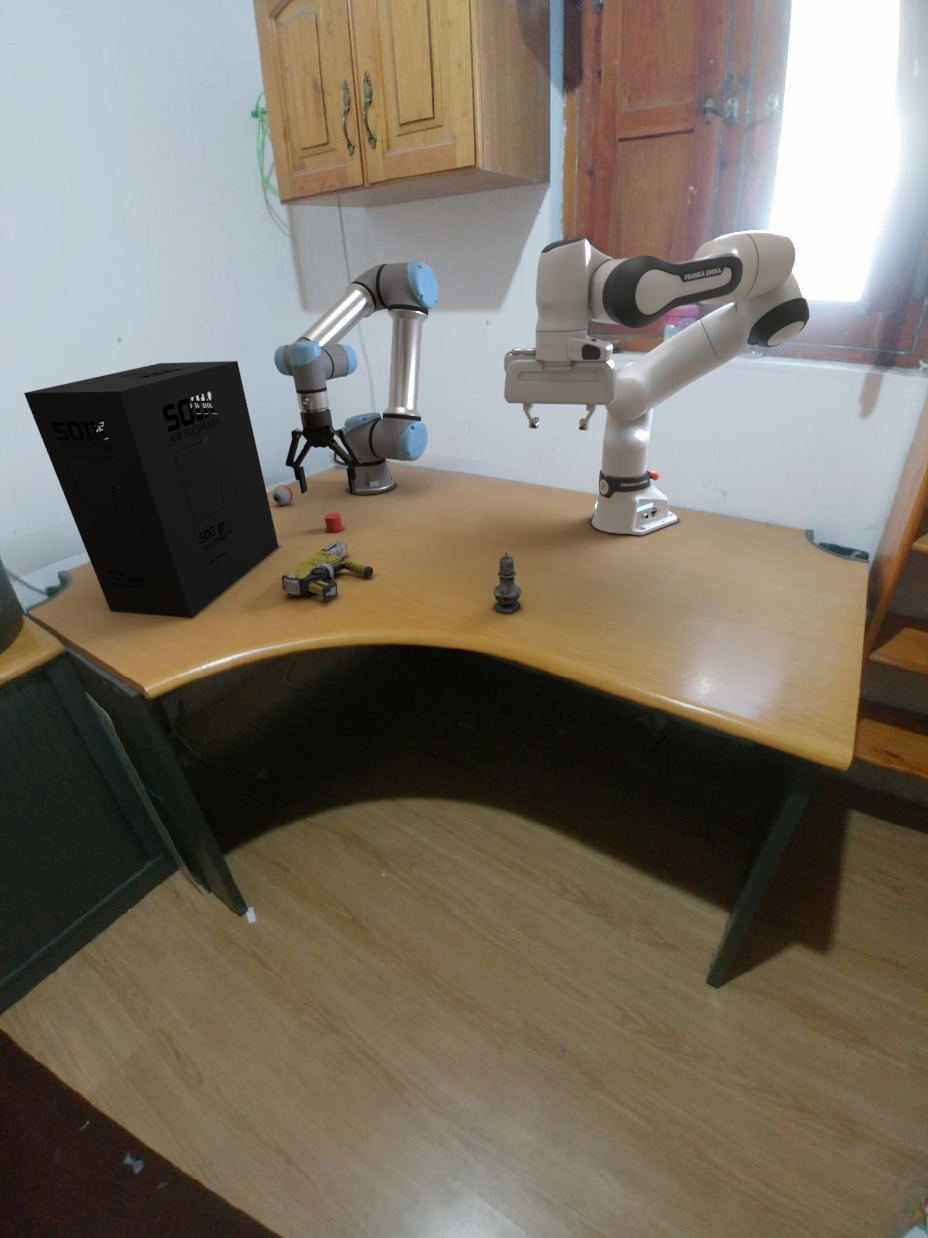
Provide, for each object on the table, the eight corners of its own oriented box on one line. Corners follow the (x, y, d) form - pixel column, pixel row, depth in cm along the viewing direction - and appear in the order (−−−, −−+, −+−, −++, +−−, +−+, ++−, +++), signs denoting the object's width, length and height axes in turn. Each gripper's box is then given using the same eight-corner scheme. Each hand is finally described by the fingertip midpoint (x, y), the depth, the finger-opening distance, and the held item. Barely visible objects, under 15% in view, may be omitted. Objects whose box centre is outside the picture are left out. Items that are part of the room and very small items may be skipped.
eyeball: (269, 507, 186) (265, 488, 183) (282, 500, 191) (278, 481, 188) (285, 508, 183) (282, 489, 180) (298, 502, 188) (294, 483, 185)
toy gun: (389, 548, 145) (334, 537, 149) (339, 588, 125) (277, 575, 129) (389, 566, 147) (335, 555, 151) (340, 608, 127) (279, 595, 131)
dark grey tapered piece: (519, 614, 120) (519, 559, 114) (490, 612, 122) (489, 558, 116) (523, 600, 125) (523, 546, 119) (495, 598, 127) (493, 545, 121)
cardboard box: (191, 617, 126) (119, 391, 104) (110, 610, 131) (23, 392, 108) (278, 546, 158) (237, 360, 135) (210, 542, 162) (159, 363, 140)
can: (324, 529, 167) (321, 515, 165) (337, 525, 169) (335, 511, 167) (331, 534, 164) (329, 519, 162) (345, 529, 166) (343, 515, 164)
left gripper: (261, 413, 149) (279, 496, 160) (358, 411, 146) (369, 496, 156) (274, 407, 156) (290, 487, 166) (367, 404, 152) (377, 486, 163)
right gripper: (498, 350, 106) (500, 430, 113) (616, 349, 99) (610, 434, 106) (509, 346, 111) (509, 423, 118) (622, 344, 104) (616, 426, 111)
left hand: (328, 491), depth 161 cm, fingers open, 13 cm apart
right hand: (558, 428), depth 112 cm, fingers open, 8 cm apart
